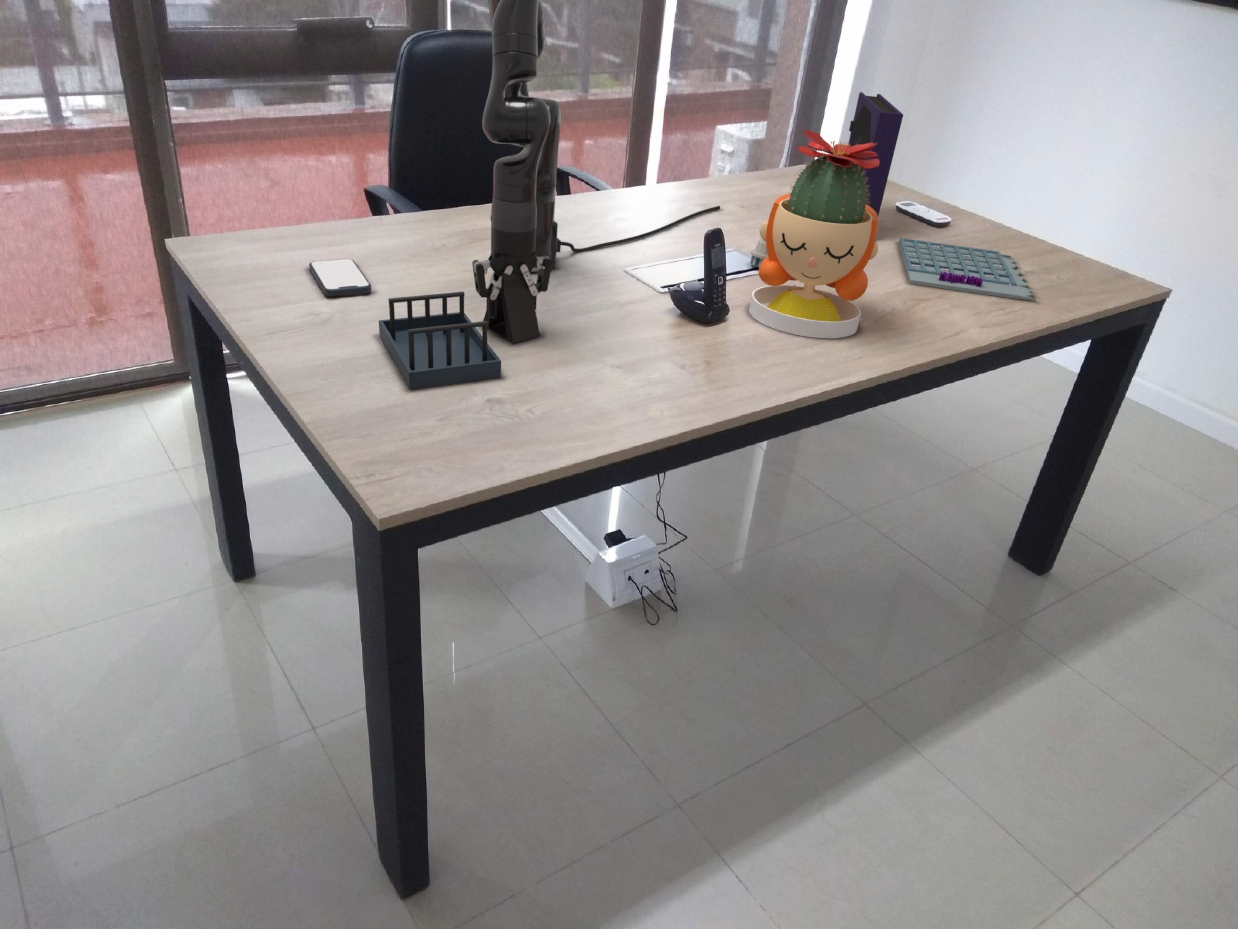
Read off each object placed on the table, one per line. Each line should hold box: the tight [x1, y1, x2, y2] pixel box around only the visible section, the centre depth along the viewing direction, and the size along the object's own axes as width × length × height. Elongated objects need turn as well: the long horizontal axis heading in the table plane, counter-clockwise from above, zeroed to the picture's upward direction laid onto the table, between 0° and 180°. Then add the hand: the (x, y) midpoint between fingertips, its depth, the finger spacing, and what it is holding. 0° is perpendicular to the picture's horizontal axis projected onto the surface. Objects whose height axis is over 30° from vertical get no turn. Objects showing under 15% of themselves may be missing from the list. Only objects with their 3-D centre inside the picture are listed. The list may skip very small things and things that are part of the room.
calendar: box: [898, 237, 1036, 302], centre depth 212 cm, size 27×29×2 cm
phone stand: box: [482, 271, 541, 345], centre depth 160 cm, size 9×6×12 cm, turn 44°
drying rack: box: [378, 291, 502, 390], centre depth 150 cm, size 15×20×8 cm
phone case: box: [308, 258, 372, 297], centre depth 175 cm, size 9×2×16 cm
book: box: [847, 91, 904, 217], centre depth 227 cm, size 24×6×30 cm, turn 179°
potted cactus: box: [748, 129, 879, 339], centre depth 172 cm, size 22×22×35 cm
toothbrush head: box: [749, 237, 768, 268], centre depth 207 cm, size 5×7×25 cm
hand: (511, 315), depth 161 cm, fingers closed on phone stand, 6 cm apart
